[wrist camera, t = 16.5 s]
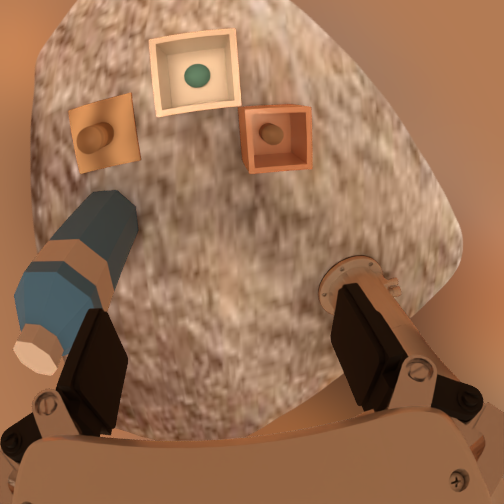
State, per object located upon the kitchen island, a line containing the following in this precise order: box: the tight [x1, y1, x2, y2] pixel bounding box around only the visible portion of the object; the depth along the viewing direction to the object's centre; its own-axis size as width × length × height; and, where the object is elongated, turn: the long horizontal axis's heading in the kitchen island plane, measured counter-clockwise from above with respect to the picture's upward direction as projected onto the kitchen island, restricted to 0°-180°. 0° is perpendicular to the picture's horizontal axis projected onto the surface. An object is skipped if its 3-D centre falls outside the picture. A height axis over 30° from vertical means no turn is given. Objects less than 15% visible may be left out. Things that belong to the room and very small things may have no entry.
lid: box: [68, 93, 141, 174], centre depth 29 cm, size 9×9×6 cm
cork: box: [259, 123, 284, 145], centre depth 33 cm, size 2×2×3 cm
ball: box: [184, 64, 210, 88], centre depth 28 cm, size 3×3×3 cm
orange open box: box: [238, 104, 312, 174], centre depth 32 cm, size 7×7×7 cm
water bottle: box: [13, 190, 138, 376], centre depth 27 cm, size 9×9×25 cm
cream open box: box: [149, 28, 242, 117], centre depth 26 cm, size 8×8×9 cm
